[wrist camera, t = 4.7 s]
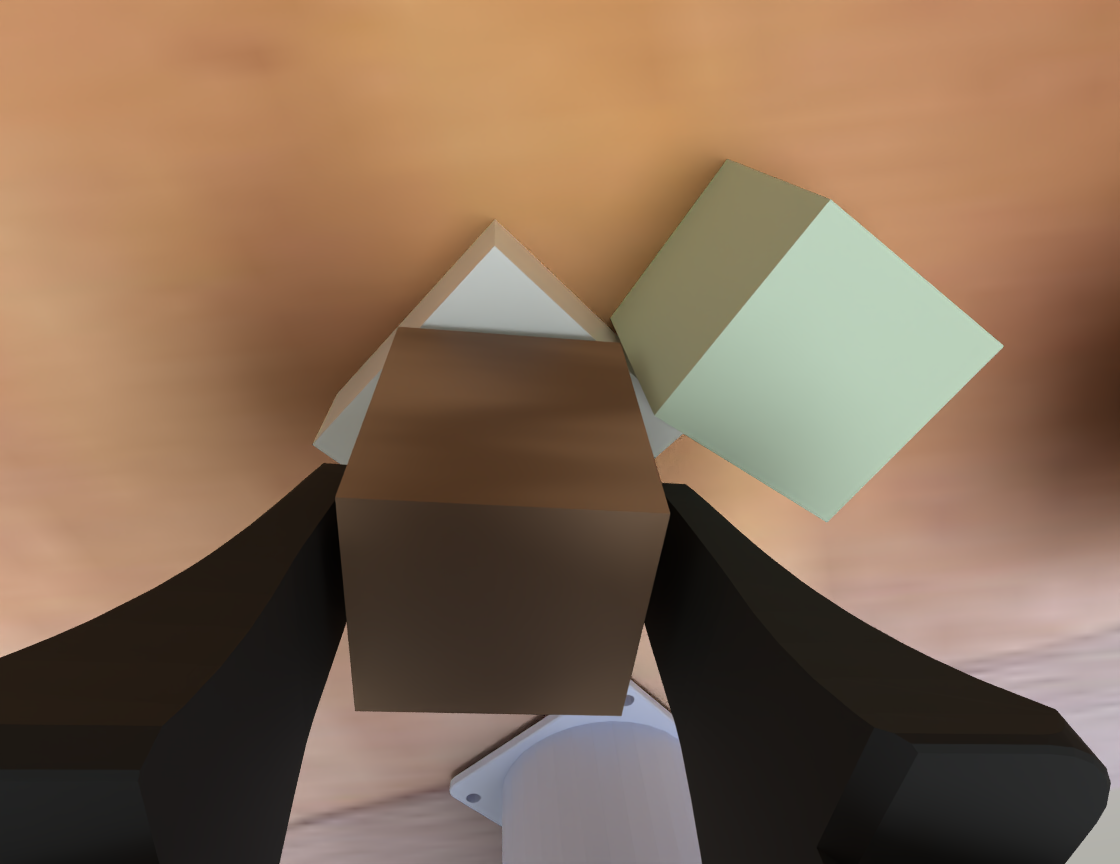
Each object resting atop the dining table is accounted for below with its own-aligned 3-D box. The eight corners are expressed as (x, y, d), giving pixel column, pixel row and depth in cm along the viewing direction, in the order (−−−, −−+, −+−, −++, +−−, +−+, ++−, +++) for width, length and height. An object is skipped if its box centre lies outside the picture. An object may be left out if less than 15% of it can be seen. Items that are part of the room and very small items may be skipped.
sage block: (859, 267, 17) (1004, 345, 12) (741, 404, 19) (827, 522, 14) (726, 158, 16) (830, 199, 11) (609, 317, 17) (653, 415, 12)
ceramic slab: (661, 375, 18) (689, 427, 16) (510, 514, 20) (511, 582, 17) (495, 216, 16) (495, 246, 13) (339, 388, 18) (312, 444, 15)
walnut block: (620, 343, 14) (670, 514, 9) (592, 512, 16) (621, 716, 12) (397, 327, 14) (334, 497, 9) (402, 504, 16) (354, 710, 11)
